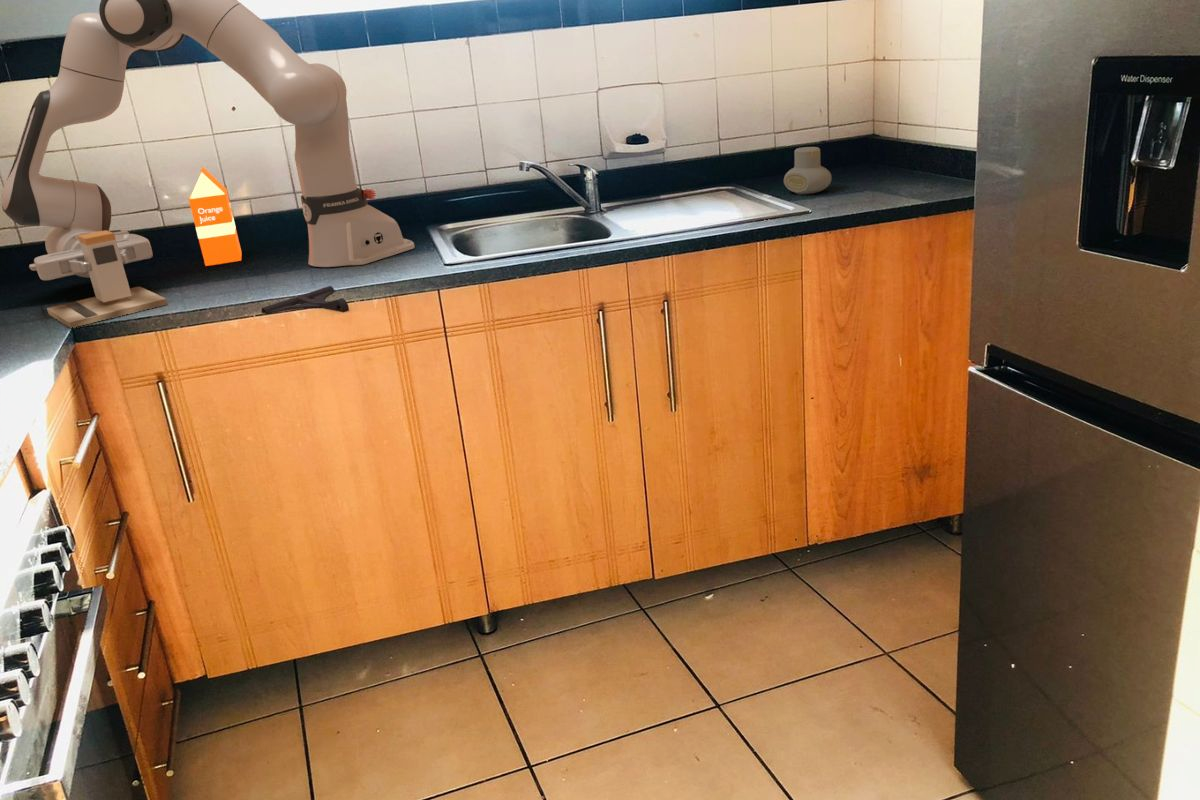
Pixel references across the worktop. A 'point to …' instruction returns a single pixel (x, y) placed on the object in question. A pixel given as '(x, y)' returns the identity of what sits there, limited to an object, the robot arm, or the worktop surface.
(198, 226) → the orange juice
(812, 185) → the air freshener
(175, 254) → the worktop surface
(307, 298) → the bracket
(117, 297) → the orange-capped beige carton
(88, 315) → the subfloor panel
